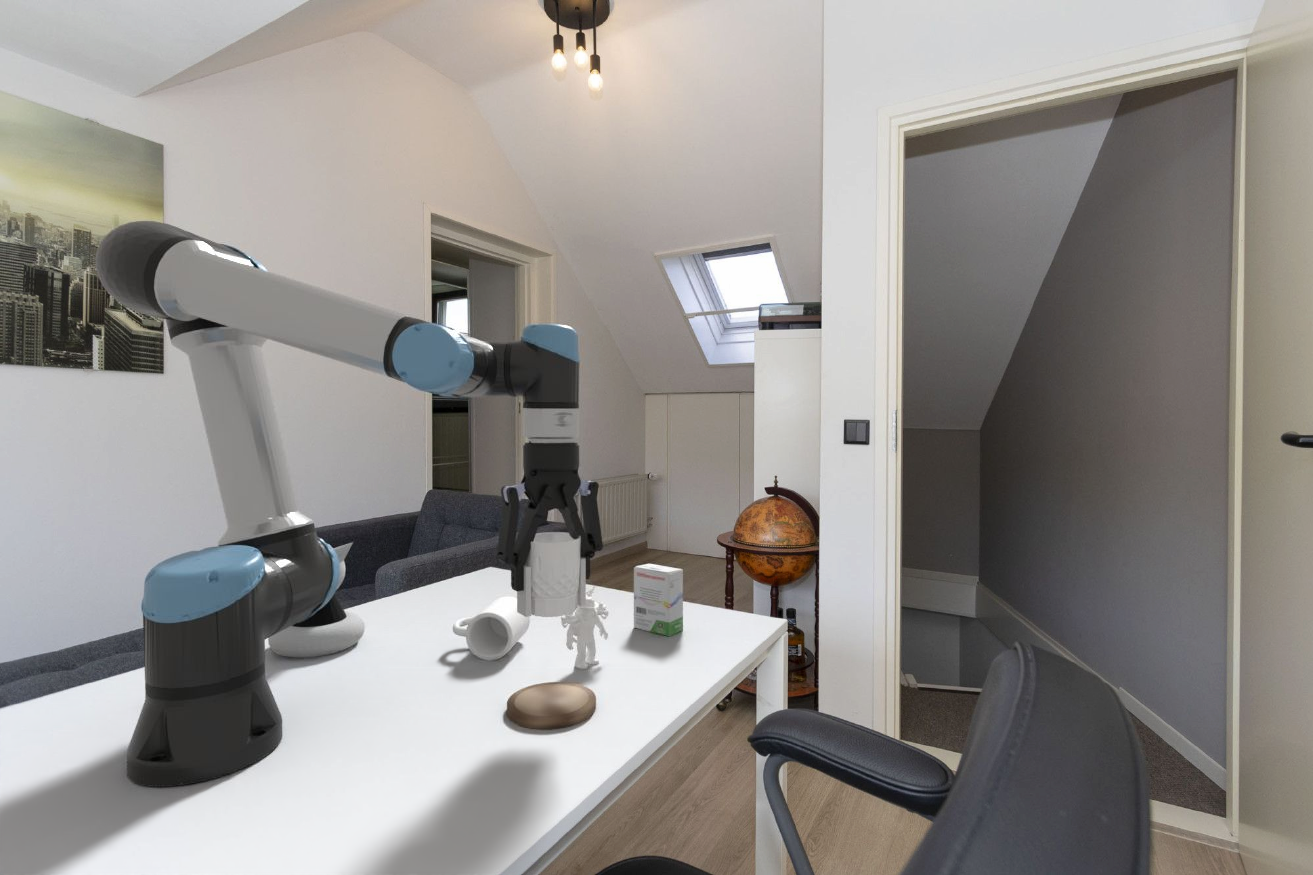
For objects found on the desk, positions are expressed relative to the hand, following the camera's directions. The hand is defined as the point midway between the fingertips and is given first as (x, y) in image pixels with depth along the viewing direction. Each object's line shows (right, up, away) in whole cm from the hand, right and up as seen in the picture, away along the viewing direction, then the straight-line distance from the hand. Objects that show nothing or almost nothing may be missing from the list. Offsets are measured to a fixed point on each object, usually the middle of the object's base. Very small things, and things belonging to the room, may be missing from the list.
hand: (552, 608), depth 88 cm
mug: (-15, -13, +23) cm, 31 cm away
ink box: (+15, -13, +34) cm, 39 cm away
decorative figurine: (-45, -13, +24) cm, 53 cm away
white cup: (0, 0, 0) cm, 0 cm away
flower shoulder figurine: (+3, -14, +16) cm, 22 cm away
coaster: (0, -14, 0) cm, 14 cm away
